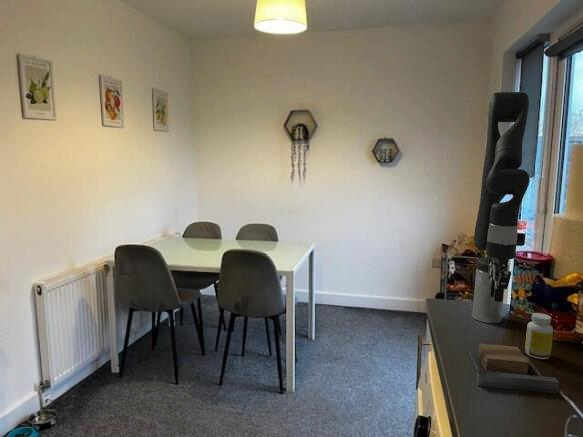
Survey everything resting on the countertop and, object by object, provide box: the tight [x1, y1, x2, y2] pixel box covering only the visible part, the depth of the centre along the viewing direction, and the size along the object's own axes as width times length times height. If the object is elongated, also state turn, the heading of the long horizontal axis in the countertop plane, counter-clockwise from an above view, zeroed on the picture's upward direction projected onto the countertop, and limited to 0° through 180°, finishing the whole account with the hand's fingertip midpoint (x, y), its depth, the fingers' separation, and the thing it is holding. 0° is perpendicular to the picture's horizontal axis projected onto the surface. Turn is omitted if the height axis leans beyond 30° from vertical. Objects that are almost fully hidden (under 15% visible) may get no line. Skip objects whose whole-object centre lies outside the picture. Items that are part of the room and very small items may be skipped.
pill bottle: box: [524, 312, 554, 360], centre depth 124 cm, size 6×6×12 cm
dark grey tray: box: [469, 351, 560, 394], centre depth 114 cm, size 16×18×3 cm
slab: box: [477, 343, 529, 375], centre depth 118 cm, size 9×10×4 cm
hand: (496, 298), depth 126 cm, fingers open, 3 cm apart
